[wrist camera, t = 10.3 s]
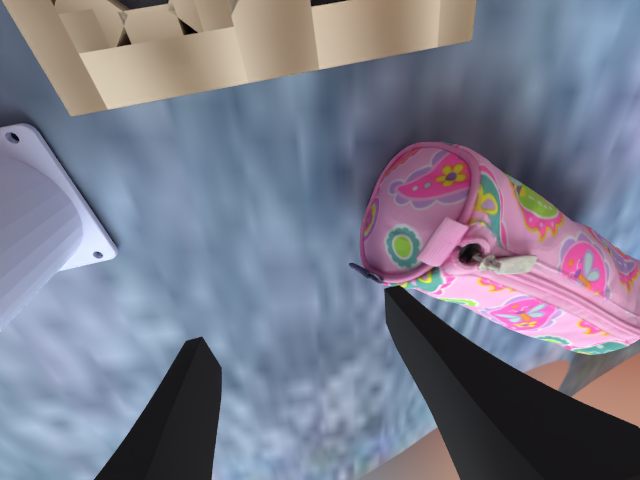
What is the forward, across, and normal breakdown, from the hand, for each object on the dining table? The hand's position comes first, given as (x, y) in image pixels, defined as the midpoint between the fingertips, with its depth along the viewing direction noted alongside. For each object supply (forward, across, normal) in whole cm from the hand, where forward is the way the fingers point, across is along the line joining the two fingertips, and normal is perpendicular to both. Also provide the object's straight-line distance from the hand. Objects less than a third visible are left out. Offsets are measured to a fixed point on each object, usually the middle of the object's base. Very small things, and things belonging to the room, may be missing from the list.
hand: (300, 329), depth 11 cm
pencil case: (+10, -14, +5) cm, 18 cm away
